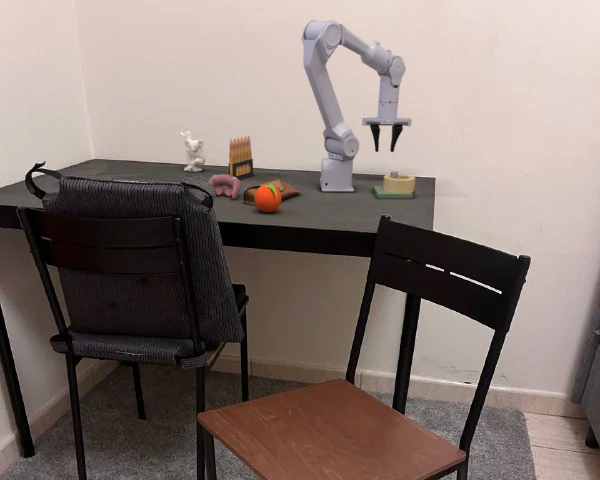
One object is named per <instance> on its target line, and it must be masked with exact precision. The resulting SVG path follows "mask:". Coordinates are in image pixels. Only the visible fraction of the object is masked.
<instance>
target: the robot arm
mask: <svg viewBox="0 0 600 480" xmlns="http://www.w3.org/2000/svg"><path fill="white" fill-rule="evenodd" d="M300 39H301V42H302V45H303V58H302V59H303V60H302V61H303V64H302V65H303V68H304V71H305V74H306V77H307V79H308V82H309V85H310V87H311V91H312V93H313V95H314V98H315V101H316V104H317V107H318V110H319V113H320V115H321V119H322V121H323V123H324V126H325V129H324V130H323V132H322V135H323V138H324V142H323V143H324V144H323V145H324V149H325V151H326V152H327V157H322V158H321V161H320V163H321V164H320V165H321V166H320V169H321V170H320V178H319V185H320V189H321V192H328V193H329V192H331V193H333V192H336V193H337V192H340V193H341V192H351V193H352V192H353V193H354V192H355V189H354V187H353V172H354V171H353V170H354V169H353V168H354V160H355V157H356V156H357V154H358V153H359V151H360V141H359V139H358V137H357V136H356V135H355V134H354V132H353V128H351V127H350V126H349V125H348V124H347V122H346V121H345V119H344V116H343V113H342V110H341V108H340V107H341V106H340V104H339V101H338V99H337V95H336V92H335V90H334V87H333V83H332V81H331V80H332V79H331V77H330V75H329V72H328V68H327V63H328V61H329V59H330V58H331V57H332V55H333V54H334V53H335V51H336V50H337V48H338V47H339V46H342V47H344V48H345V49H347V50H349V51H351V52H353V53H355V54H357V55H358V56H360V60H361V63H362V64H364V65H366V66H368V67H369V68H371V69H372V70H374V71H375V72H376V73H377V75H378V77H380V79H379V89H378V90H379V93H378V103H377V116H376V117H362V118H361V125H362V126H363V127H366V126H369V128H370V131H371V134H372V138H373V142H374V152H376V153H379V148H380V133H381V128H380V127H381V126H382V127H383V126H386V127H387V126H391V141H390V148H389V149H390V152H391V153H394V152H395V147H396V146H397V143H398V140H399V137H400V136H401V134H402V132H403V130H404V127H412V121H413V119H412V118H411V117H409V118H408V117H398V109H399V98H400V97H399V96H400V87H401V83H402V81H403V79H402V78H403V76H404V75H405V73H406V69H407V66H406V65H405V61H404V59H403V57H402V56H400V55H394V54H393V53H392V50H390V49H386V48H384V47H382V46H381V42H379V41H378V40H377V41H376V40H374V41H373V40H371V41H369V42H366V41H364V40H363V39H362V38H361V37H359V36H358V35H356V34H355V33H354V32H353V31H352V30H350V29H349V28H347V27H346V26H345V25H344V24H342V23H339V22H337V21H336V20H333V19H332V20H331V19H330V20H316V19H312V20H309V21H308V22H307V23H306V24H305V26H304V28H303V31H302V33H301V36H300Z"/></svg>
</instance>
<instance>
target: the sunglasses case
mask: <svg viewBox="0 0 600 480" xmlns="http://www.w3.org/2000/svg"><path fill="white" fill-rule="evenodd" d="M267 184H268V185H273V186H275V187H276V188H277V189H278V190H279V191H280V194H281V202H282V201H284V200H289V199H291V198H294V197H295V196H297V195H300V194H301V191H299V190H297V189H296V188H294V187H293V186H292V185H289V184H288V183H286V182H285V181H283V180H281V178H280V177H279V178H277V179H275V180H272V181H268V182H264V183H262V184H258V185H253V186H250V187H248V188H246V189H245V190H244V193H243V195H242V199H243V201H244V203H245V204H248V205H253V206H257V205H256V203H255V194H256V191H257V190H258V188H260V187H261V186H262V185H267Z"/></svg>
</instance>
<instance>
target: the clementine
mask: <svg viewBox="0 0 600 480" xmlns="http://www.w3.org/2000/svg"><path fill="white" fill-rule="evenodd" d="M255 203H256V205H255V206H256V207H257V208H258V210H260V211H262V212H264V213H273V212H275V211H276V210H278V209H279V208H280V206H281V203H282V201H281V194H280V191H279V190H278V189H277V188H276V187H275V186H273V185H268V184H267V185H262V186H261V187H260V188H258V190H257V191H256V194H255Z"/></svg>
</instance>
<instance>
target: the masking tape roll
mask: <svg viewBox="0 0 600 480" xmlns="http://www.w3.org/2000/svg"><path fill="white" fill-rule="evenodd" d="M382 181H383V182H382V186H383V190H384V191H386V192H390V193H411V192H412V193H413V192H415V187H416V186H415V185H416V177H415V176H414V175H410V174H406V173H405V174H404V173H398V179H393V178H390V173H389V174H385V175H383V180H382Z"/></svg>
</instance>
